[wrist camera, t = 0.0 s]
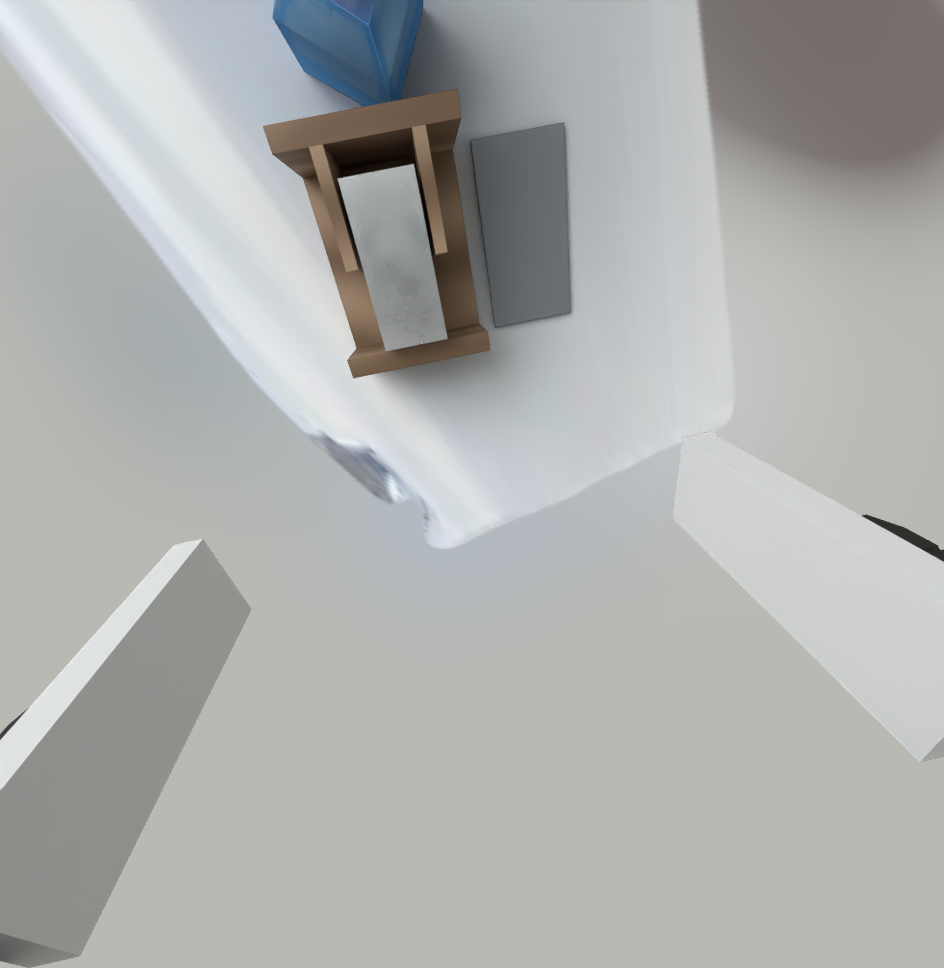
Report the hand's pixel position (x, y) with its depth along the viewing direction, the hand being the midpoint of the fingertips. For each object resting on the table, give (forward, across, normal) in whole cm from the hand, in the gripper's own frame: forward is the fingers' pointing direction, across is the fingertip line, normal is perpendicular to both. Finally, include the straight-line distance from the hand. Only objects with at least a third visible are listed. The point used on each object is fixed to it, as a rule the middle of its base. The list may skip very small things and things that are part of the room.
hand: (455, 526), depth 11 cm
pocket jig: (+28, -1, +7) cm, 29 cm away
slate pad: (+28, +10, +7) cm, 30 cm away
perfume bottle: (+28, 0, +20) cm, 34 cm away
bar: (+24, -1, +7) cm, 25 cm away
